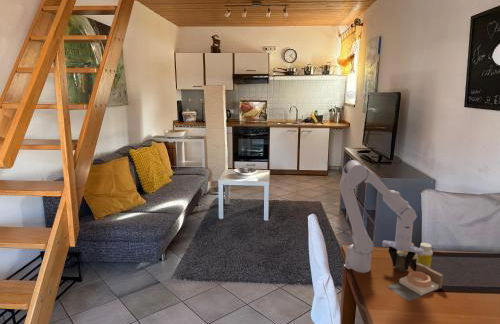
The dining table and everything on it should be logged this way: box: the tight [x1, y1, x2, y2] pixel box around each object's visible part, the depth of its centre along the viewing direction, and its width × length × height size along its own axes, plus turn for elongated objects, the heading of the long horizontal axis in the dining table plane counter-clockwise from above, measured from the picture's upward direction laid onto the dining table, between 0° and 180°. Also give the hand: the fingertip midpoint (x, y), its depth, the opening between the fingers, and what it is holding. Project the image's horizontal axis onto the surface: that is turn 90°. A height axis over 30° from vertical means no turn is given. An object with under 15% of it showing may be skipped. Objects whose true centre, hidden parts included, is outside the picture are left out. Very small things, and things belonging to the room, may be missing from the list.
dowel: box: [394, 253, 407, 273], centre depth 132 cm, size 4×4×7 cm
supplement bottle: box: [415, 242, 434, 269], centre depth 135 cm, size 5×5×10 cm
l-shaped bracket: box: [386, 263, 444, 302], centre depth 120 cm, size 10×17×6 cm, turn 117°
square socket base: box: [398, 270, 439, 296], centre depth 121 cm, size 9×9×4 cm
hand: (400, 267), depth 132 cm, fingers closed on dowel, 4 cm apart
